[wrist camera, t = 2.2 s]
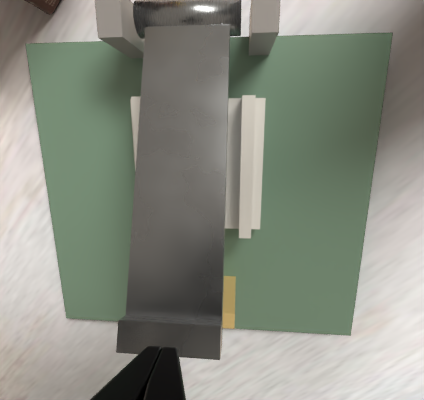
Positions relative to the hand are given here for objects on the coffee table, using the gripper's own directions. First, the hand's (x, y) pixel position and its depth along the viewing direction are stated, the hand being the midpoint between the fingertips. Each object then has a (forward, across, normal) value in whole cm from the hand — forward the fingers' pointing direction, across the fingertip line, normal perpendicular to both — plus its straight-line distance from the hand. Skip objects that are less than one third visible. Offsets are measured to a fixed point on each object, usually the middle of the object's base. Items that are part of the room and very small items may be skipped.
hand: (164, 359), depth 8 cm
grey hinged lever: (+7, 0, -5) cm, 8 cm away
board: (+13, 0, -2) cm, 13 cm away
